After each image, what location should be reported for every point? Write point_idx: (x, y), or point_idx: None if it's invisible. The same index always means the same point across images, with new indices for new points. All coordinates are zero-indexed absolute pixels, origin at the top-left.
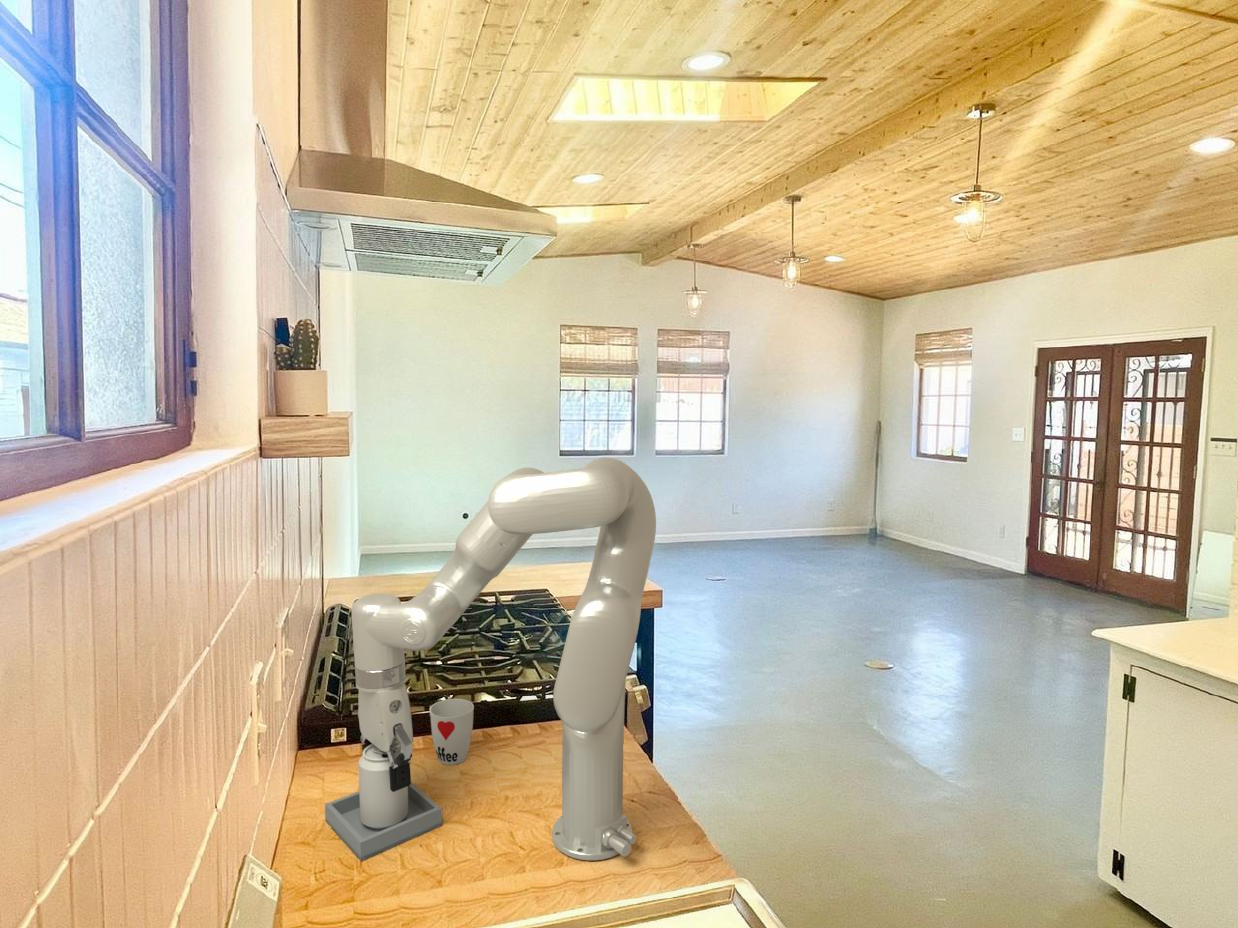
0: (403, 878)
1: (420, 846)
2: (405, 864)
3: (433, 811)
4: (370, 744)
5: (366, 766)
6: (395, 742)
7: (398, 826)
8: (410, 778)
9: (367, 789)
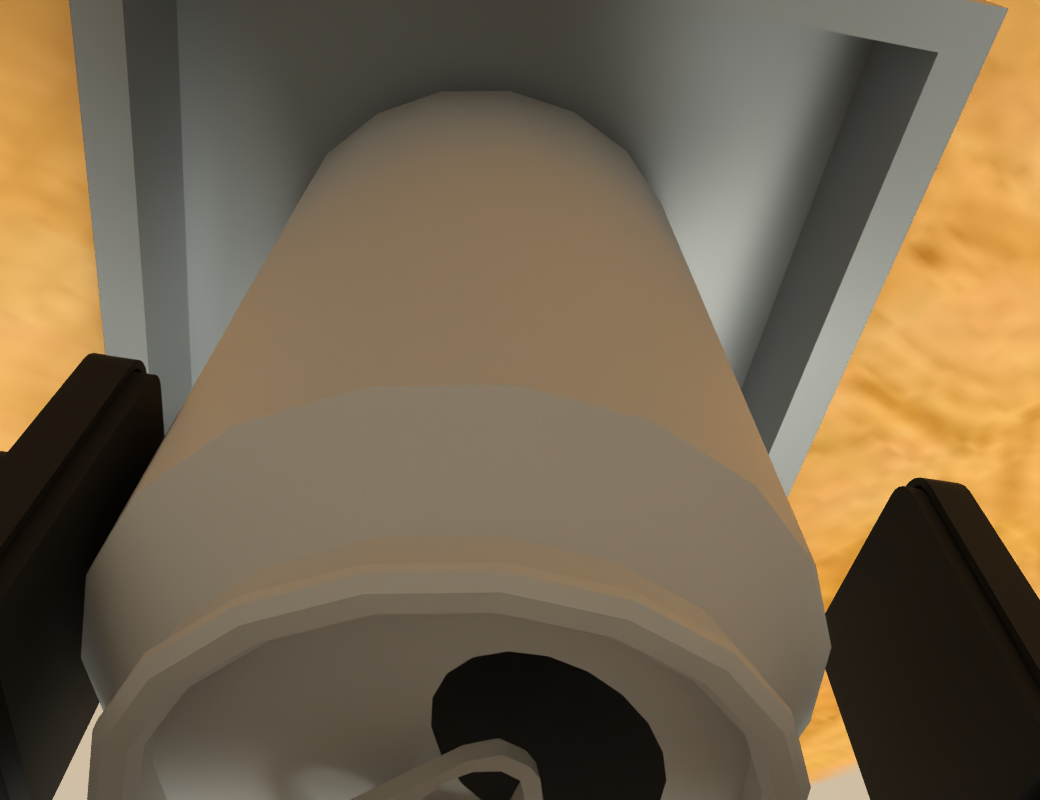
0: (1027, 489)
1: (932, 266)
2: (958, 422)
3: (962, 108)
4: (21, 763)
5: None
6: (366, 613)
7: (821, 416)
8: (994, 532)
9: (535, 664)
